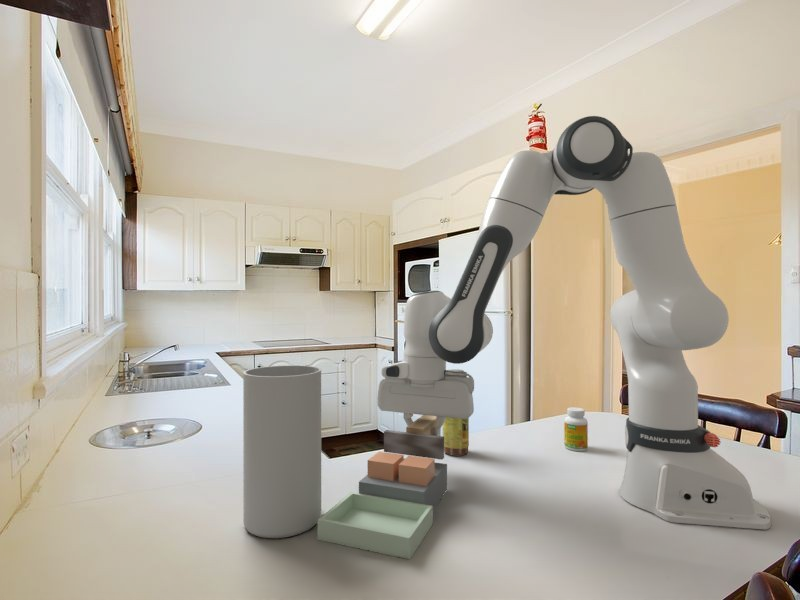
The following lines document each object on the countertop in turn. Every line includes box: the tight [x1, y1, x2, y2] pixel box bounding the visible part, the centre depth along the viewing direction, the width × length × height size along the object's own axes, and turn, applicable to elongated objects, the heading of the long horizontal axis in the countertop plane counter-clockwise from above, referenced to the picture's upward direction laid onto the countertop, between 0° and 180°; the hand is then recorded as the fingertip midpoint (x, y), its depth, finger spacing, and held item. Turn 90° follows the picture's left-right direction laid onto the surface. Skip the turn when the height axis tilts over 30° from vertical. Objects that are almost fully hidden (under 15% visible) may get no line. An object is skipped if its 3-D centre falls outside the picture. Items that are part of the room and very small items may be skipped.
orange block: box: [367, 451, 404, 481], centre depth 83 cm, size 5×5×3 cm
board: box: [358, 457, 448, 510], centre depth 84 cm, size 12×14×5 cm
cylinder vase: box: [242, 364, 322, 539], centre depth 76 cm, size 12×12×25 cm
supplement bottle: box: [563, 406, 589, 452], centre depth 113 cm, size 5×5×10 cm
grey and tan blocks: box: [383, 415, 445, 460], centre depth 94 cm, size 12×13×5 cm
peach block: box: [399, 455, 436, 486], centre depth 81 cm, size 5×5×3 cm
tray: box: [317, 491, 434, 560], centre depth 72 cm, size 15×11×3 cm
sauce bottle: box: [442, 368, 470, 456], centre depth 110 cm, size 7×6×20 cm
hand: (424, 435), depth 95 cm, fingers closed on grey and tan blocks, 3 cm apart
